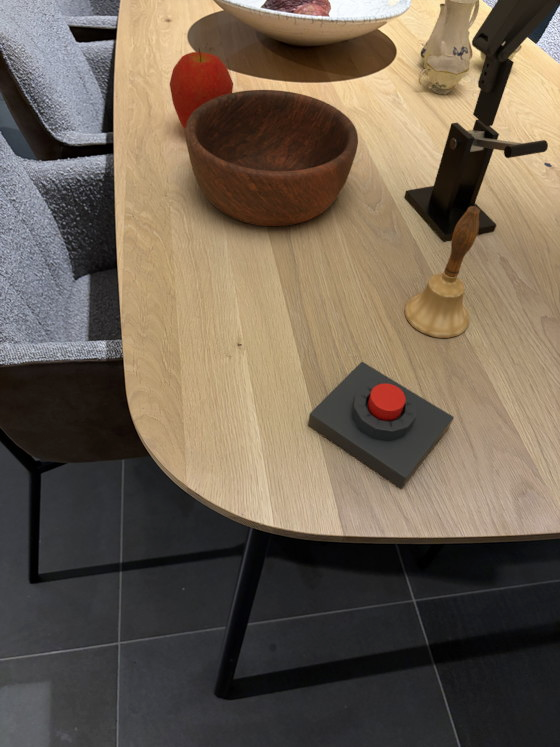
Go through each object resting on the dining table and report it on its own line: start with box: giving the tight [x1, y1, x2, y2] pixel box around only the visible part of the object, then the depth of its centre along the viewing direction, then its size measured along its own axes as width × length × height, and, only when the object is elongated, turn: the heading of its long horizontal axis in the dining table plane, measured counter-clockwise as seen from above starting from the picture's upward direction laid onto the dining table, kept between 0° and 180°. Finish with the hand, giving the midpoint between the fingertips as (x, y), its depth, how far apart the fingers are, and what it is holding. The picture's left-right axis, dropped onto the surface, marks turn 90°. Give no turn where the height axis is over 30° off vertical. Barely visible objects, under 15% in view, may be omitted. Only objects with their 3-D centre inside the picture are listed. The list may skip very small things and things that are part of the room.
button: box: [368, 384, 405, 421], centre depth 62 cm, size 4×4×2 cm
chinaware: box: [418, 0, 522, 95], centre depth 121 cm, size 28×17×17 cm, turn 136°
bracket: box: [404, 119, 500, 243], centre depth 88 cm, size 12×9×14 cm
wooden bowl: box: [184, 89, 359, 227], centre depth 91 cm, size 25×25×10 cm
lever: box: [466, 129, 549, 159], centre depth 80 cm, size 13×6×2 cm, turn 21°
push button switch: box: [307, 361, 455, 490], centre depth 64 cm, size 12×10×4 cm
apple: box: [169, 47, 234, 129], centre depth 100 cm, size 10×10×14 cm
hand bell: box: [404, 206, 480, 339], centre depth 72 cm, size 8×8×16 cm
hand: (534, 113), depth 67 cm, fingers open, 13 cm apart
